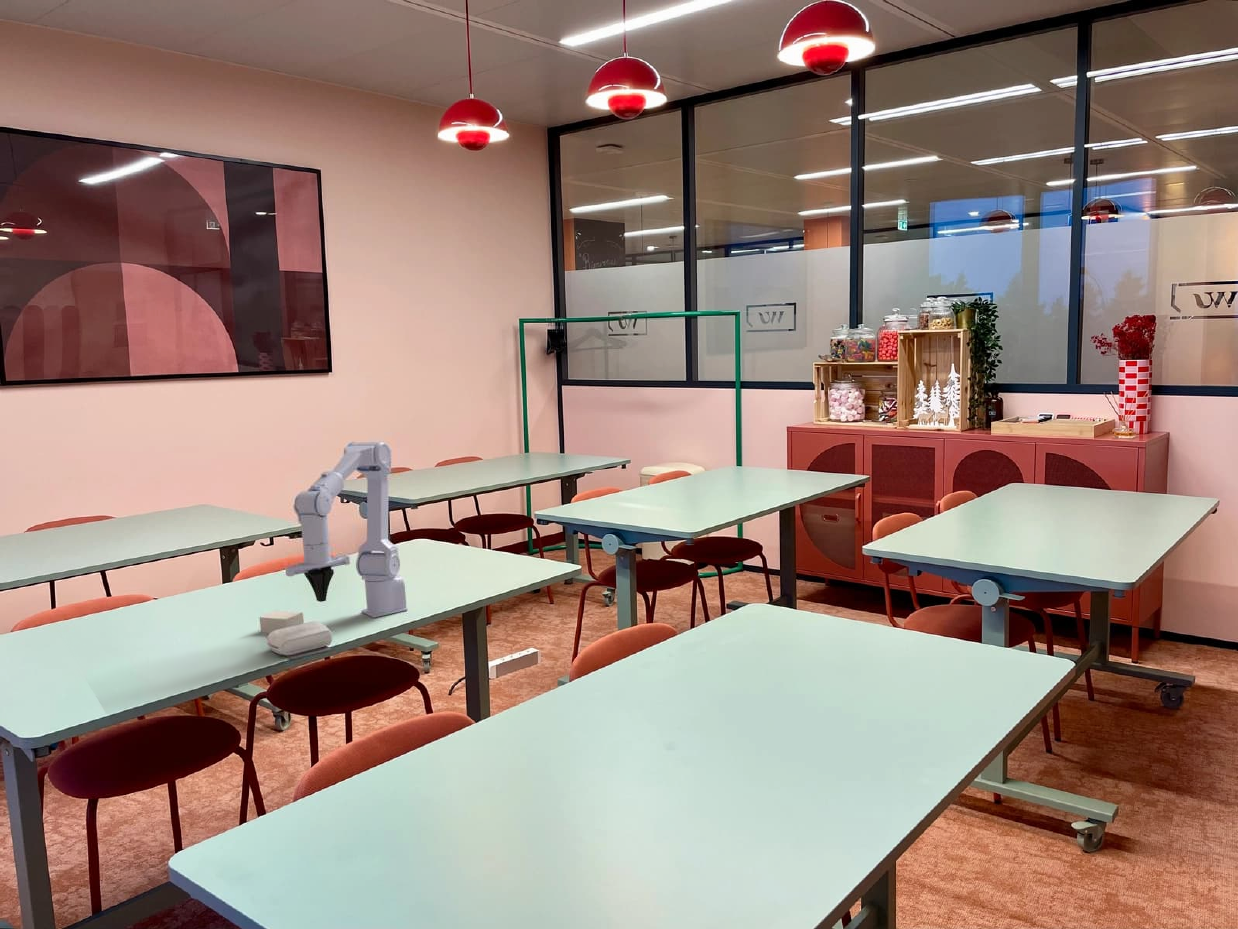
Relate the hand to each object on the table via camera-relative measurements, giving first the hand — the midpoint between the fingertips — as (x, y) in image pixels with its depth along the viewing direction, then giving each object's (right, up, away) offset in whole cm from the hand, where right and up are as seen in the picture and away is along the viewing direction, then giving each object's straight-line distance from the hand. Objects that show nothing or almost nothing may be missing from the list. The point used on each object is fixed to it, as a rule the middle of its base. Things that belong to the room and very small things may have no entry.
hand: (321, 600), depth 211 cm
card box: (-14, -9, +13) cm, 21 cm away
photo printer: (+1, -7, +1) cm, 8 cm away
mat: (-4, -10, -2) cm, 11 cm away
